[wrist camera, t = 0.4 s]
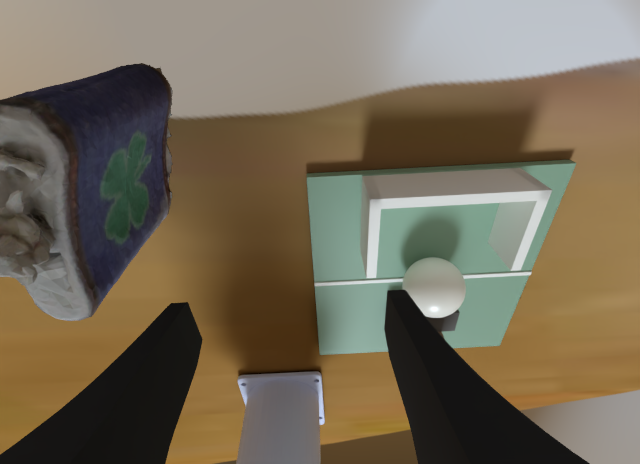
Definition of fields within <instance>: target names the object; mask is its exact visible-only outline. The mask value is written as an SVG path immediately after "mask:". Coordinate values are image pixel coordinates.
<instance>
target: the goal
mask: <svg viewBox="0 0 640 464" xmlns="http://www.w3.org/2000/svg"><path fill="white" fill-rule="evenodd" d="M551 192H552V189H550V188H549V187H547V186H546V185H545V184H543V183H542V182H540V181H539V180H537V179H536V178H534V177H533V176H531V175H530V174H528V173H527V172H526V171H524V170H523V169H521V168H507V169H488V170H469V171H450V172H431V173H412V174H393V175H374V176H362V197H361V230H360V252H361V256H362V261H363V265H364V270H365V274H366V278H376V274H377V260H378V245H379V231H380V217H381V209H393V208H412V207H431V206H450V205H469V204H488V203H499V207H498V210H497V213H496V216H495V220H494V223H493V226H492V230H491V233H490V236H489V240H488V243H489V245H490V246H491V247H492V248H493V250H494V251H495V252H496V253H497V255H498V256H499V257H500V258H501V259H502V261H503V262H504V263H505V264H506V266H507V267H508V268H509V269H510V271H518V270H521V268H522V266H523V263H524V261H525V258H526V255H527V253H528V250H529V248H530V245H531V243H532V240H533V238H534V235H535V233H536V230H537V228H538V225H539V223H540V220H541V218H542V215H543V213H544V210H545V208H546V205H547V203H548V200H549V198H550V195H551Z"/></svg>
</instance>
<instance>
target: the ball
mask: <svg viewBox="0 0 640 464" xmlns="http://www.w3.org/2000/svg"><path fill="white" fill-rule="evenodd" d="M402 289H403V290H406V291H407V292H408V294H409V295H410V297H411V298H412V299H413V301H414V302H415V303H416V305H417V306H418V307H419V309H420V310H421V311H422V313H423V314H424V315H425V316H426V317H430V318H442V317H446V316H448V315H451V314H452V313H454V312H455V311H456V310H458V308H459V307H460V306H461V305H462V303H463V301H464V298H465V294H466V285H465V280H464V278H463V276H462V274H461V272H460V271H459V269H458V268H457V267H456V266H455V265H453V264H452V263H450V262H449V261H447V260H444V259H441V258H436V257H429V258H423V259H421V260H418V261H416V262H415V263H413V264H412V265H411V266H410V267H409V268H408V270H407V271H406V273H405V275H404V278H403V283H402Z"/></svg>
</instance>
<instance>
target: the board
mask: <svg viewBox="0 0 640 464" xmlns="http://www.w3.org/2000/svg"><path fill="white" fill-rule="evenodd" d="M575 165H576V163H575V162H573V161H571V160H553V161H534V162H515V163H496V164H477V165H458V166H439V167H420V168H402V169H383V170H364V171H345V172H326V173H307V189H308V203H309V216H310V230H311V243H312V257H313V271H314V285H315V298H316V311H317V325H318V338H319V352H320V355H327V354H347V353H366V352H386V351H388V347H387V342H386V336H385V331H384V325H385V313H386V301H387V290H403V289H402V283H403V278H404V275H405V273H406V271H407V270H408V268H409V267H410V266H411V265H412V264H413V263H415V262H416V261H418V260H421V259H423V258H429V257H436V258H441V259H444V260H447V261H449V262H450V263H452V264H453V265H455V266H456V267H457V268H458V269H459V271H460V272H461V274H462V276H463V278H464V280H465V285H466V294H465V298H464V301H463V303H462V305H461V306H460V307H459V308H458V310H459V312H460V314H459V317H458V321H457V324H456V328H455V331H443V332H442V334H443V336H444V339H445V340H446V341H447V343H448V344H449V345H450V346H451V347H452V348H464V347H484V346H500V344H501V341H502V339H503V336H504V334H505V332H506V329H507V327H508V325H509V322H510V320H511V317H512V315H513V313H514V310H515V308H516V306H517V303H518V301H519V298H520V296H521V294H522V291H523V289H524V287H525V284H526V282H527V279H528V277H529V275H531V273H532V272H531V270H532V268H533V265H534V263H535V260H536V258H537V256H538V253H539V251H540V249H541V246H542V244H543V241H544V239H545V237H546V234H547V232H548V230H549V227H550V225H551V222H552V220H553V218H554V215H555V213H556V211H557V208H558V206H559V203H560V201H561V199H562V196H563V194H564V192H565V189H566V187H567V184H568V182H569V180H570V177H571V175H572V173H573V170H574V168H575ZM507 168H521V169H523V170H524V171H526V172H527V173H528V174H530V175H531V176H533V177H534V178H536V179H537V180H539V181H540V182H542V183H543V184H545V185H546V186H547V187H549V188H550V189H552V192H551V195H550V198H549V200H548V203H547V205H546V208H545V210H544V213H543V215H542V218H541V220H540V223H539V225H538V228H537V230H536V233H535V235H534V238H533V240H532V243H531V245H530V248H529V250H528V253H527V255H526V258H525V261H524V263H523V266H522V268H521V270H518V271H510V269H509V268H508V267H507V266H506V264H505V263H504V262H503V261H502V259H501V258H500V257H499V256H498V255H497V253H496V252H495V251H494V250H493V248H492V247H491V246H490V245H489V243H488V240H489V236H490V233H491V230H492V226H493V223H494V220H495V216H496V213H497V210H498V207H499V203H488V204H469V205H450V206H431V207H412V208H393V209H381V217H380V231H379V245H378V260H377V274H376V278H366V274H365V270H364V265H363V261H362V256H361V252H360V230H361V197H362V176H374V175H393V174H412V173H431V172H450V171H469V170H488V169H507Z"/></svg>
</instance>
